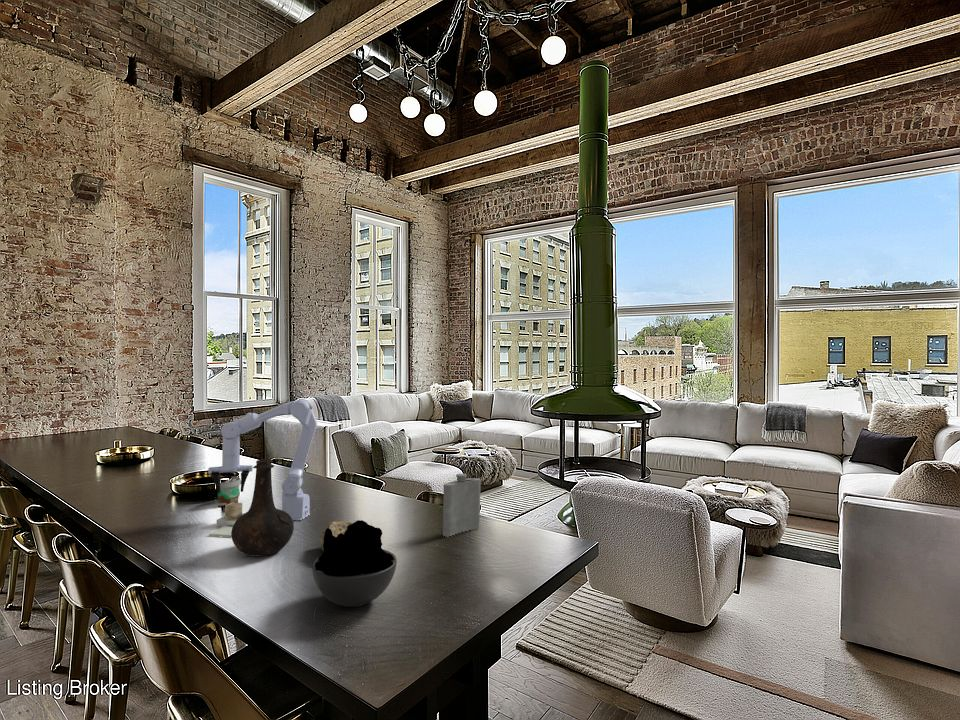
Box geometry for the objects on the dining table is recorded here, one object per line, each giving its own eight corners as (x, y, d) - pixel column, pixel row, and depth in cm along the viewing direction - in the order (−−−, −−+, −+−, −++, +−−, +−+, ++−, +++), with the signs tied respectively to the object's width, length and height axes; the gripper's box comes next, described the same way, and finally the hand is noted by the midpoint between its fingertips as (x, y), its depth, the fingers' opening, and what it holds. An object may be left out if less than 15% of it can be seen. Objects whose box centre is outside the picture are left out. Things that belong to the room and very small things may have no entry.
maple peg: (241, 522, 185) (242, 503, 185) (235, 525, 181) (235, 506, 181) (231, 521, 186) (232, 502, 186) (224, 525, 182) (225, 505, 182)
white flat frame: (267, 521, 186) (267, 514, 186) (253, 529, 178) (254, 522, 178) (231, 519, 188) (232, 512, 188) (216, 527, 179) (216, 519, 179)
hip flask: (446, 537, 172) (447, 478, 173) (439, 534, 175) (440, 476, 176) (481, 528, 183) (482, 472, 183) (473, 525, 186) (474, 470, 186)
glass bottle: (271, 564, 147) (273, 467, 147) (216, 559, 151) (219, 463, 151) (304, 543, 164) (306, 456, 165) (255, 539, 168) (257, 453, 168)
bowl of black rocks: (400, 584, 135) (402, 513, 135) (389, 623, 115) (391, 539, 115) (324, 584, 134) (325, 512, 135) (299, 623, 114) (301, 538, 115)
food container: (231, 508, 202) (232, 483, 202) (216, 508, 202) (216, 483, 202) (246, 500, 214) (247, 476, 214) (232, 500, 214) (232, 476, 214)
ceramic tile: (248, 530, 177) (248, 527, 177) (234, 537, 169) (234, 535, 169) (223, 528, 178) (223, 526, 178) (209, 536, 170) (209, 533, 170)
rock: (387, 561, 154) (382, 531, 152) (342, 584, 145) (337, 553, 143) (356, 535, 170) (351, 508, 167) (314, 555, 161) (308, 526, 159)
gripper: (253, 452, 194) (253, 488, 194) (211, 453, 189) (210, 490, 189) (251, 455, 187) (251, 492, 187) (207, 457, 183) (206, 495, 183)
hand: (230, 491), depth 188 cm, fingers open, 7 cm apart
